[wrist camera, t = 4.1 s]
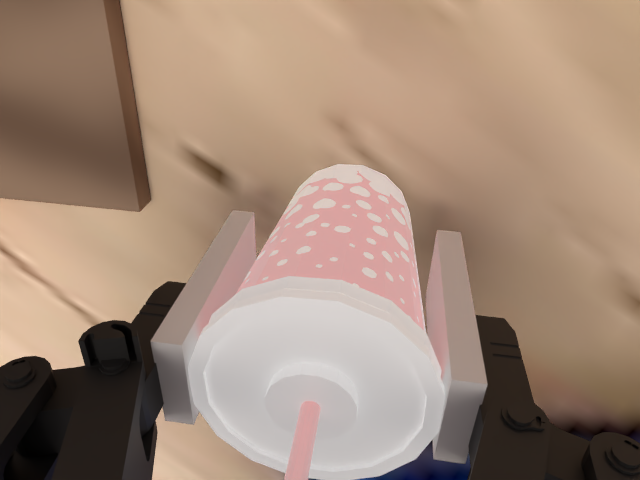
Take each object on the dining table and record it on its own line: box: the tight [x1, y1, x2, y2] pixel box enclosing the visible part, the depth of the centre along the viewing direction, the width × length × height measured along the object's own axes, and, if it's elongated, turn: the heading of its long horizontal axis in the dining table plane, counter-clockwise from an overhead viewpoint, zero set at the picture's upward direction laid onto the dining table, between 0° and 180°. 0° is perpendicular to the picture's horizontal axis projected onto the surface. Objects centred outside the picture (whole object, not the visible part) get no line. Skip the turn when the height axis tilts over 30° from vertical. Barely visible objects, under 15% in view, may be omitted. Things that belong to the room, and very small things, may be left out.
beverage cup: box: [188, 164, 445, 480], centre depth 14 cm, size 6×6×14 cm
